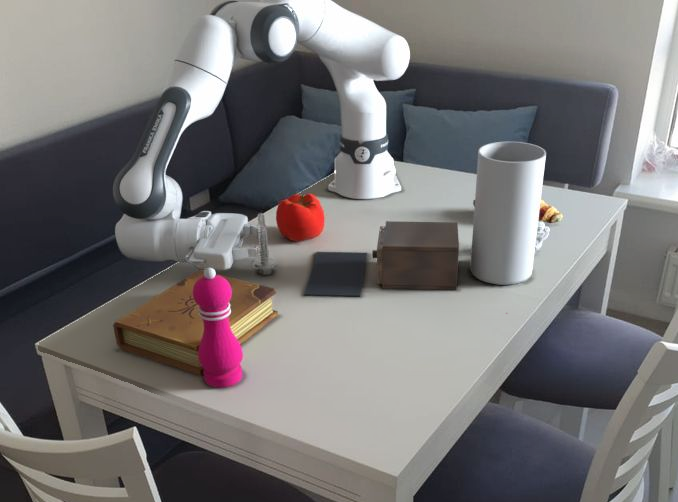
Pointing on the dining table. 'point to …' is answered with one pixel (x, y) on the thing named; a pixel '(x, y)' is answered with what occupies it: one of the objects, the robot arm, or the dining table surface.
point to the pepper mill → (217, 331)
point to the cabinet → (420, 255)
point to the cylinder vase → (506, 211)
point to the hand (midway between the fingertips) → (261, 241)
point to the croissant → (546, 213)
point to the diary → (190, 322)
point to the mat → (337, 274)
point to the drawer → (379, 255)
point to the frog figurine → (541, 234)
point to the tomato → (300, 217)
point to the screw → (263, 249)
